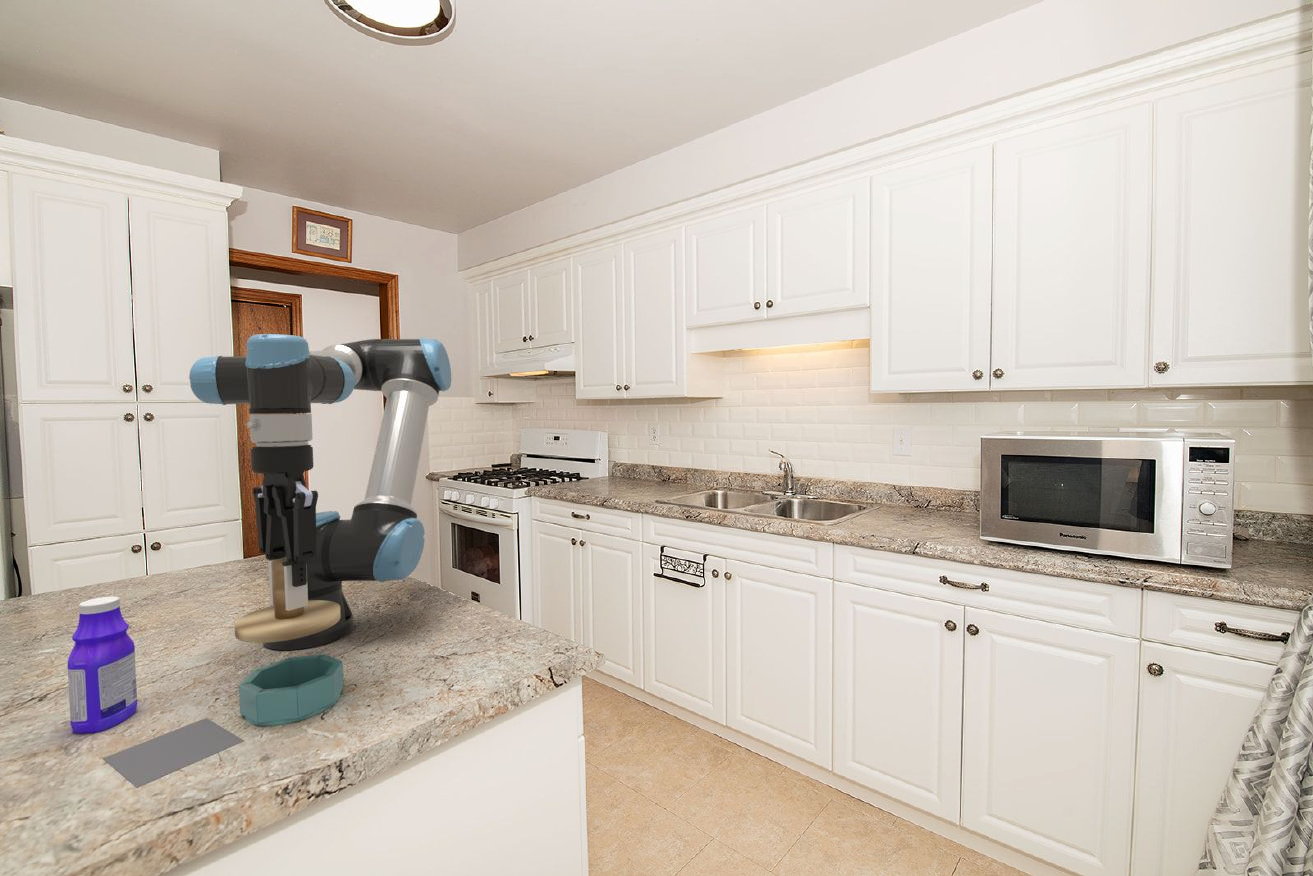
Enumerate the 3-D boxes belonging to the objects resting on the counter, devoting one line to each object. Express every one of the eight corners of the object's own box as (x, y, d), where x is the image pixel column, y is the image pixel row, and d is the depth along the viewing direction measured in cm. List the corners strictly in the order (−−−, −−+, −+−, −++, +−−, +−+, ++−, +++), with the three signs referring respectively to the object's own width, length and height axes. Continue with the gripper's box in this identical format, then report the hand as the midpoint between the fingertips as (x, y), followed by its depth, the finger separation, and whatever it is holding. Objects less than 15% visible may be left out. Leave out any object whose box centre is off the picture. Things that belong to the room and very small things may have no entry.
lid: (217, 631, 84) (214, 565, 83) (311, 604, 95) (308, 546, 94) (263, 650, 77) (260, 578, 76) (358, 619, 88) (356, 556, 87)
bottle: (106, 710, 86) (98, 593, 85) (148, 708, 86) (141, 591, 85) (60, 739, 78) (51, 610, 77) (106, 736, 79) (97, 608, 78)
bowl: (228, 713, 84) (226, 679, 84) (313, 680, 95) (312, 649, 94) (271, 737, 78) (269, 700, 78) (357, 698, 88) (356, 666, 88)
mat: (102, 761, 73) (102, 758, 73) (206, 720, 83) (206, 717, 83) (137, 790, 68) (137, 787, 68) (244, 743, 77) (244, 740, 77)
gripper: (225, 444, 85) (232, 603, 87) (284, 447, 77) (292, 624, 78) (280, 441, 92) (286, 589, 93) (341, 443, 83) (347, 607, 84)
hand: (289, 604), depth 85 cm, fingers closed on lid, 3 cm apart
